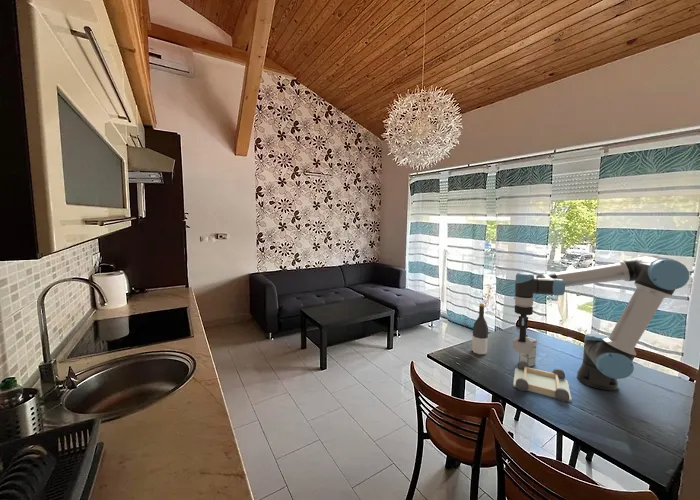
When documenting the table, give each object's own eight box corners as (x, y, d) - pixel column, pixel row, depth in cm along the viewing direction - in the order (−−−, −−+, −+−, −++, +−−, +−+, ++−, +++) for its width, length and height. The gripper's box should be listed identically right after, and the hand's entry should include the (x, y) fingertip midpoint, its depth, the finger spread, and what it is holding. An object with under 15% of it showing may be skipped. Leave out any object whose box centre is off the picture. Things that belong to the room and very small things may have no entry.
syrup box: (535, 366, 160) (537, 339, 158) (527, 367, 157) (529, 341, 156) (525, 361, 165) (527, 336, 164) (518, 363, 163) (519, 337, 161)
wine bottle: (468, 352, 176) (471, 302, 173) (478, 350, 179) (481, 301, 176) (479, 357, 168) (482, 306, 166) (489, 355, 172) (492, 304, 169)
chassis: (566, 380, 145) (567, 370, 145) (571, 404, 126) (572, 393, 125) (515, 368, 157) (516, 359, 156) (512, 388, 137) (513, 378, 137)
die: (536, 359, 138) (537, 338, 137) (516, 358, 139) (516, 337, 139) (528, 352, 146) (528, 332, 146) (509, 351, 147) (509, 331, 147)
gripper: (515, 300, 152) (514, 344, 154) (513, 308, 136) (512, 357, 138) (533, 301, 148) (531, 347, 150) (532, 311, 132) (531, 361, 134)
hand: (522, 352), depth 144 cm, fingers closed on die, 6 cm apart
